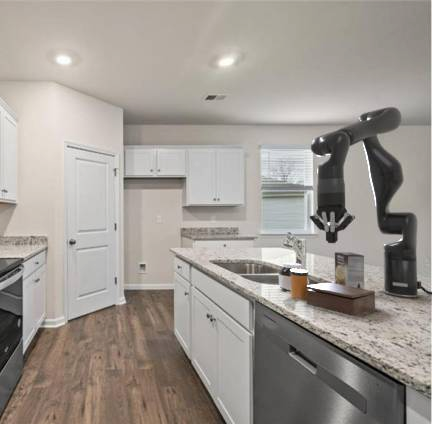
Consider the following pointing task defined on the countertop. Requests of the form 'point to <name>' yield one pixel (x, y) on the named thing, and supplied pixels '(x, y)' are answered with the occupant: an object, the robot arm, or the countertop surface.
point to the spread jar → (288, 275)
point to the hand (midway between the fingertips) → (331, 243)
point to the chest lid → (340, 290)
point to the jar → (298, 283)
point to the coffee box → (349, 269)
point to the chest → (341, 302)
